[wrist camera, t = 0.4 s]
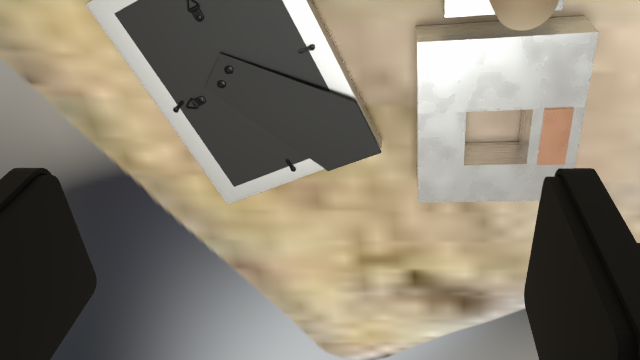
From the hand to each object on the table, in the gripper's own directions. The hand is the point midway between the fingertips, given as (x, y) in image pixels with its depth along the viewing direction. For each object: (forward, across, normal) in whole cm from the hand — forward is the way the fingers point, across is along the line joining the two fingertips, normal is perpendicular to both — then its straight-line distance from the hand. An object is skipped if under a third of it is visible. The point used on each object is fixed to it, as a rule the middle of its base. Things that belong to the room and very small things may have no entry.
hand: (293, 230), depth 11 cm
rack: (+34, -10, +10) cm, 36 cm away
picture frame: (+34, +11, +10) cm, 37 cm away
